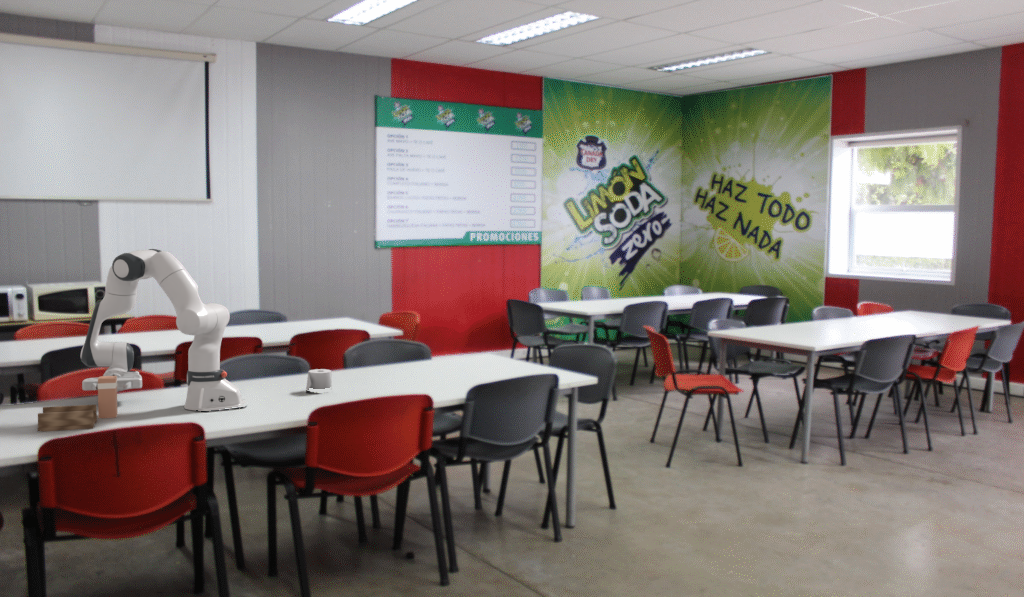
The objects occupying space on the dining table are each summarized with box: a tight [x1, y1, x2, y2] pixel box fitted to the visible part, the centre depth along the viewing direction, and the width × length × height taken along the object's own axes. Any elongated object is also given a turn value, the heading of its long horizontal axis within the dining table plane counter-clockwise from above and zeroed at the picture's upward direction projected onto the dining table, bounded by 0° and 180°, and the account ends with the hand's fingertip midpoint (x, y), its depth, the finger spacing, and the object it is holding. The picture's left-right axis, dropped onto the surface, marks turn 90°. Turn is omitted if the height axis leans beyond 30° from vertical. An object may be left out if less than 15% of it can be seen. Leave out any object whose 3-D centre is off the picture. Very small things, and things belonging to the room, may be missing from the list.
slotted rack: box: [37, 404, 98, 432], centre depth 265 cm, size 16×12×6 cm
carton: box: [97, 375, 118, 419], centre depth 279 cm, size 6×6×14 cm
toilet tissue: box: [305, 368, 333, 390], centre depth 330 cm, size 9×13×9 cm
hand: (111, 387), depth 290 cm, fingers open, 8 cm apart
